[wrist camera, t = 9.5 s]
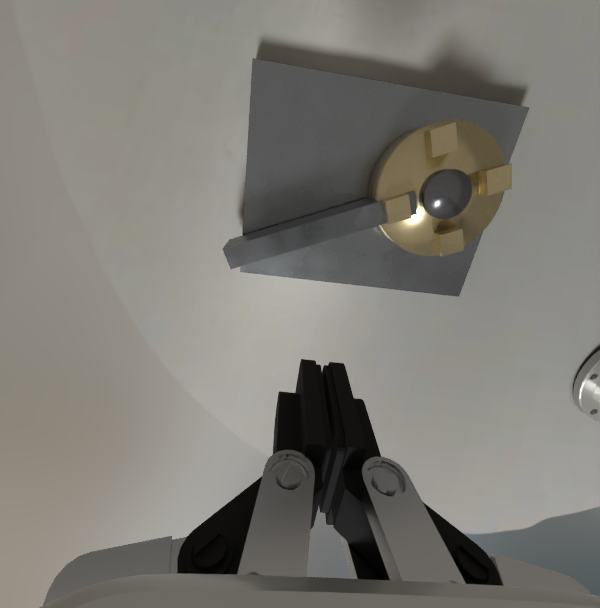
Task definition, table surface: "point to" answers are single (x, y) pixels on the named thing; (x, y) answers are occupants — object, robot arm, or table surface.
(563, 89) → the table surface
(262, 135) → the base plate
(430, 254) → the gold disc with handle
